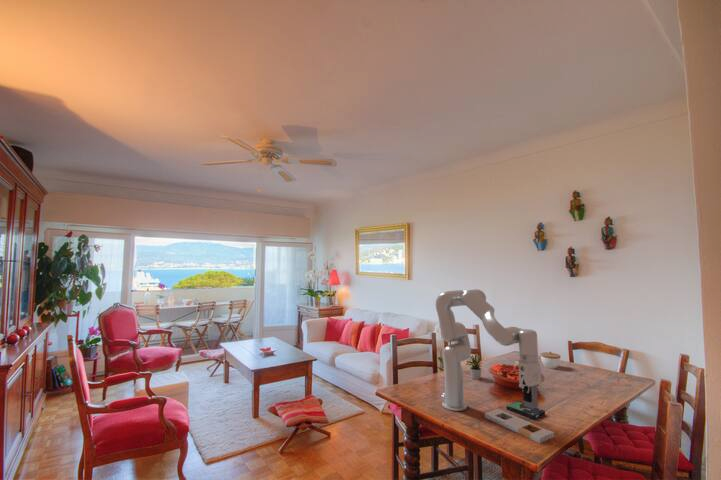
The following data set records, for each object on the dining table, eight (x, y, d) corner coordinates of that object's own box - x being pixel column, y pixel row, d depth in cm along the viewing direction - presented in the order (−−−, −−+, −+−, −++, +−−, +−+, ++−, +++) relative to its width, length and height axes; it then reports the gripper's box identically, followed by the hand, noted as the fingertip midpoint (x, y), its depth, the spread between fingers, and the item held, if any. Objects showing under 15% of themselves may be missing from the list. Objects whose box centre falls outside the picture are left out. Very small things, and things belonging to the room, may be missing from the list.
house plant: (464, 373, 234) (463, 348, 235) (485, 375, 230) (484, 350, 231) (463, 379, 221) (463, 354, 222) (486, 382, 216) (485, 355, 218)
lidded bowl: (545, 363, 257) (544, 348, 258) (563, 367, 247) (563, 352, 248) (538, 367, 249) (537, 351, 250) (556, 371, 239) (556, 354, 240)
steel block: (524, 405, 152) (523, 382, 152) (529, 403, 154) (528, 381, 154) (532, 408, 148) (531, 385, 149) (537, 407, 150) (536, 383, 151)
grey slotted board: (484, 417, 166) (484, 413, 166) (498, 413, 171) (498, 408, 171) (539, 443, 142) (539, 438, 142) (553, 437, 147) (553, 432, 147)
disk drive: (545, 416, 169) (517, 405, 181) (545, 410, 169) (517, 400, 181) (534, 421, 163) (505, 410, 175) (534, 415, 163) (505, 404, 175)
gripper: (524, 362, 145) (526, 407, 144) (547, 357, 154) (550, 399, 152) (509, 358, 152) (511, 401, 150) (532, 353, 160) (534, 394, 159)
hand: (530, 399), depth 151 cm, fingers closed on steel block, 4 cm apart
